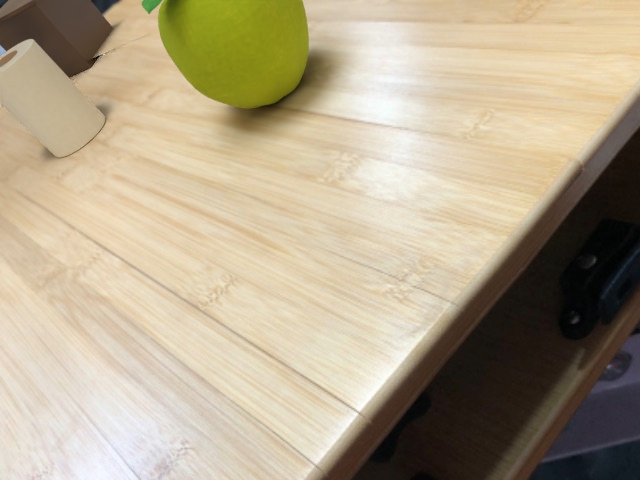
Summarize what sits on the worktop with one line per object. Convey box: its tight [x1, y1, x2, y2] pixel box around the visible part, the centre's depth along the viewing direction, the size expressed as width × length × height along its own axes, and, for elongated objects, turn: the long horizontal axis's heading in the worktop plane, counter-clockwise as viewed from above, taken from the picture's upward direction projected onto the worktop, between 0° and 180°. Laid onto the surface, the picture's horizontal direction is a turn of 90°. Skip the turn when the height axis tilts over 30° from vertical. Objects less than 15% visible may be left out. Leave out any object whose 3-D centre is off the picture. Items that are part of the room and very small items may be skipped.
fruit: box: [141, 0, 310, 109], centre depth 41 cm, size 9×9×10 cm
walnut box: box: [0, 0, 114, 78], centre depth 70 cm, size 8×8×8 cm
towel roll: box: [0, 39, 106, 158], centre depth 54 cm, size 6×6×8 cm
